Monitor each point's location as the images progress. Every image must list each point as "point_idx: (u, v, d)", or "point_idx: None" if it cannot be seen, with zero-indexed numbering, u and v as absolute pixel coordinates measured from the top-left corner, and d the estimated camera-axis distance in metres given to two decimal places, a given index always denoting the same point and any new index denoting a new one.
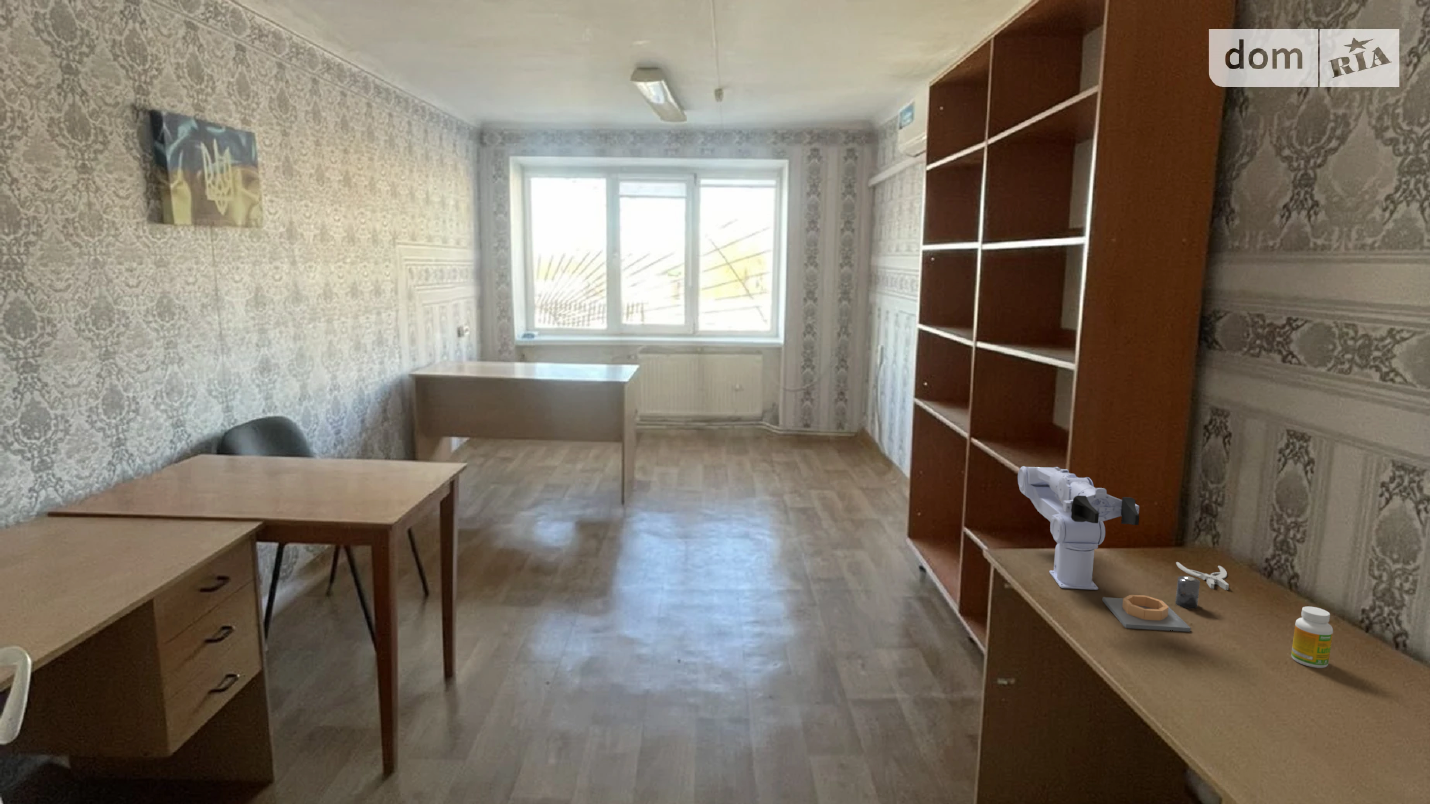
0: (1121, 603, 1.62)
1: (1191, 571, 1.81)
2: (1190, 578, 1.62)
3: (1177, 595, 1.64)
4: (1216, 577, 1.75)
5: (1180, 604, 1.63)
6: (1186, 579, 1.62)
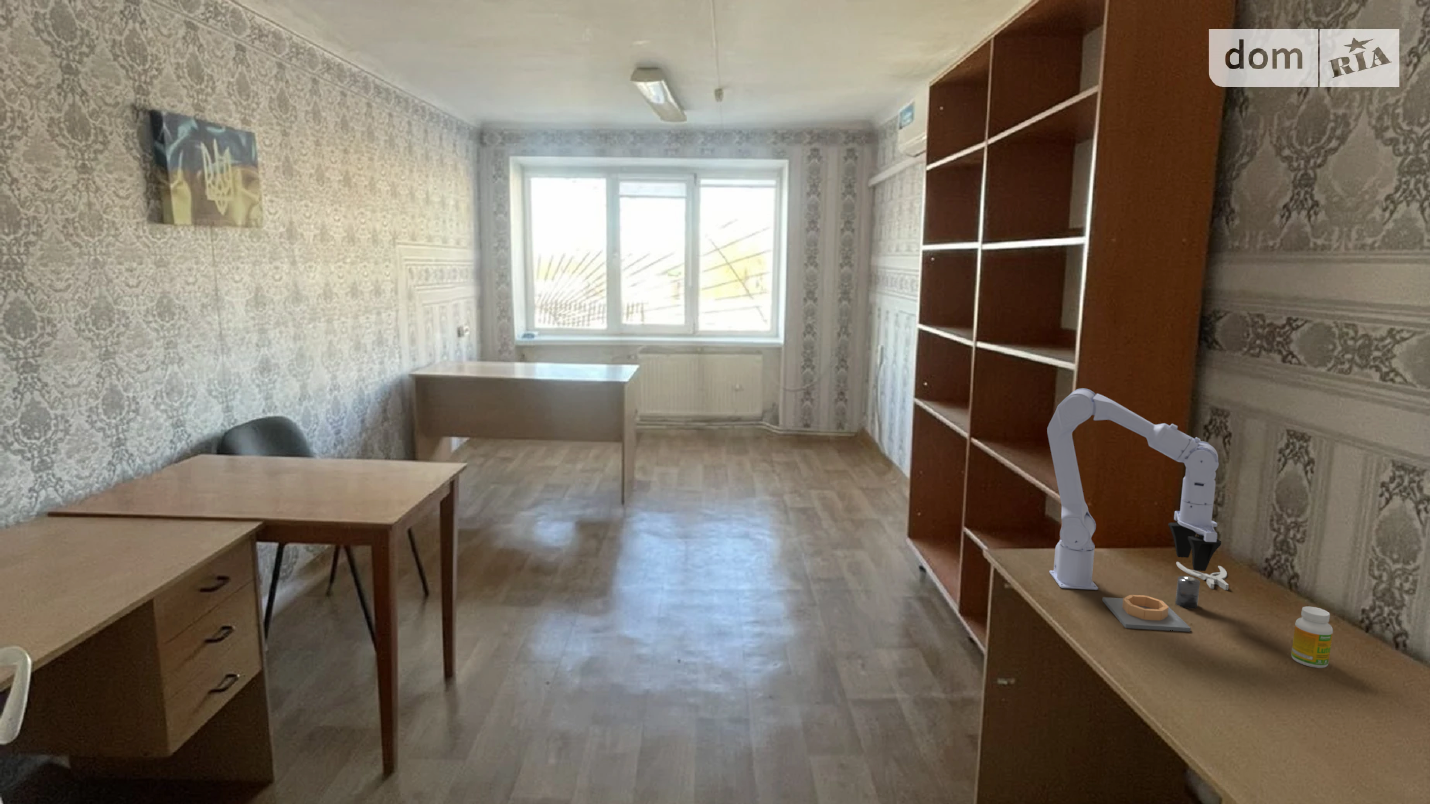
0: (1121, 603, 1.62)
1: (1191, 571, 1.81)
2: (1190, 578, 1.62)
3: (1177, 595, 1.64)
4: (1216, 577, 1.75)
5: (1180, 604, 1.63)
6: (1186, 579, 1.62)
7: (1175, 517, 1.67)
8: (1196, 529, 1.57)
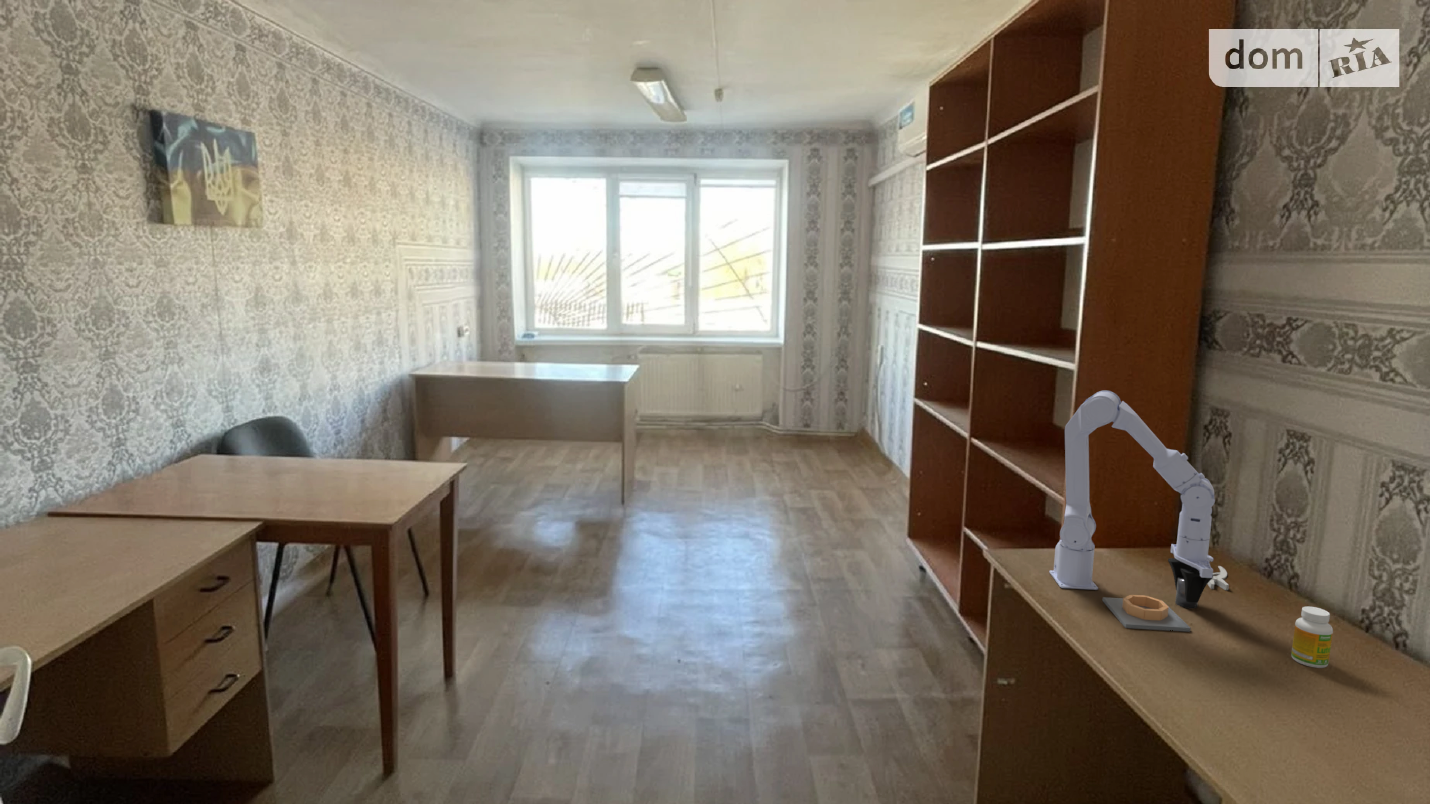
0: (1121, 603, 1.62)
1: None
2: None
3: (1177, 595, 1.64)
4: (1216, 577, 1.75)
5: (1180, 604, 1.63)
6: None
7: (1172, 550, 1.69)
8: (1192, 564, 1.58)
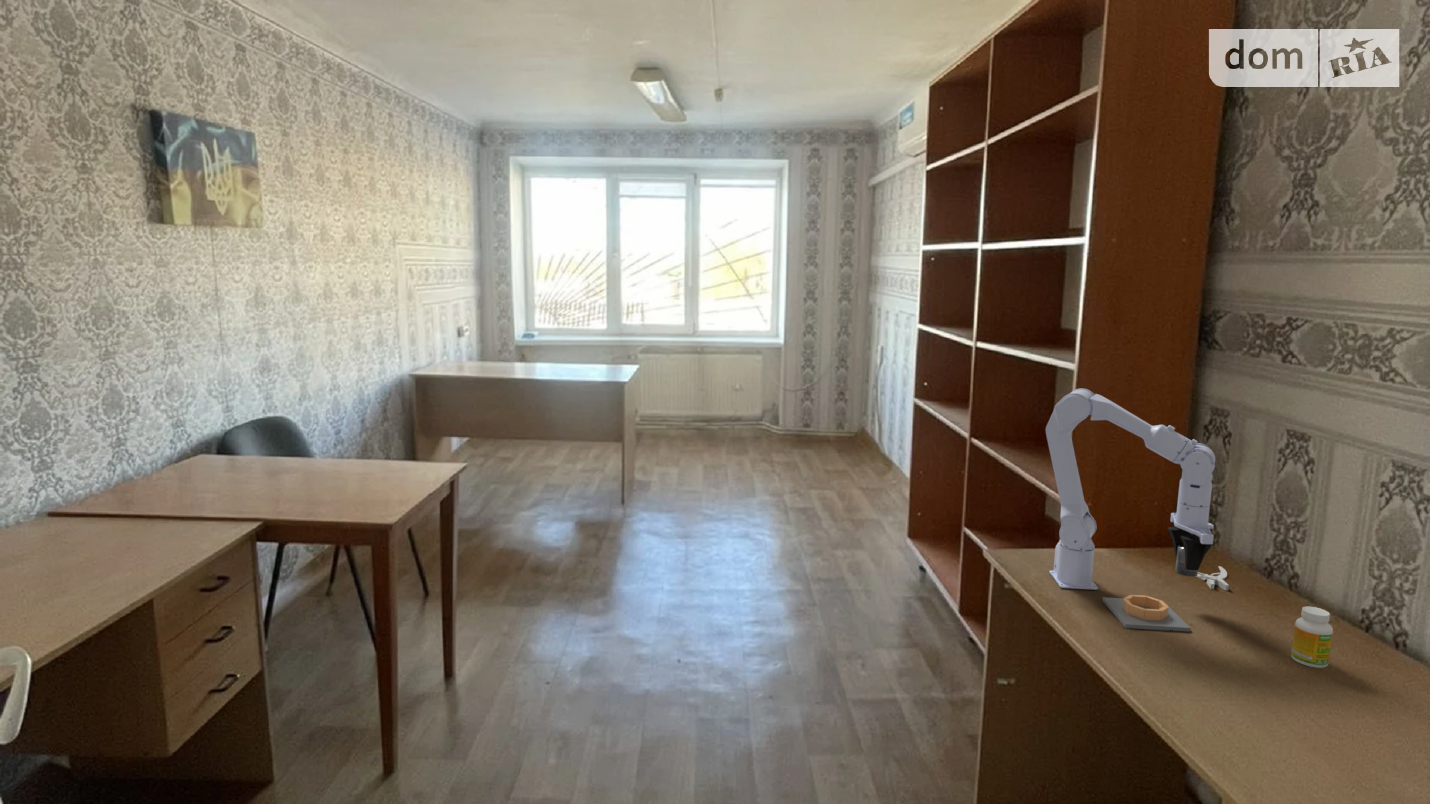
0: (1121, 603, 1.62)
1: None
2: None
3: (1177, 563, 1.62)
4: (1216, 577, 1.75)
5: (1180, 572, 1.61)
6: None
7: (1171, 519, 1.67)
8: (1192, 531, 1.56)
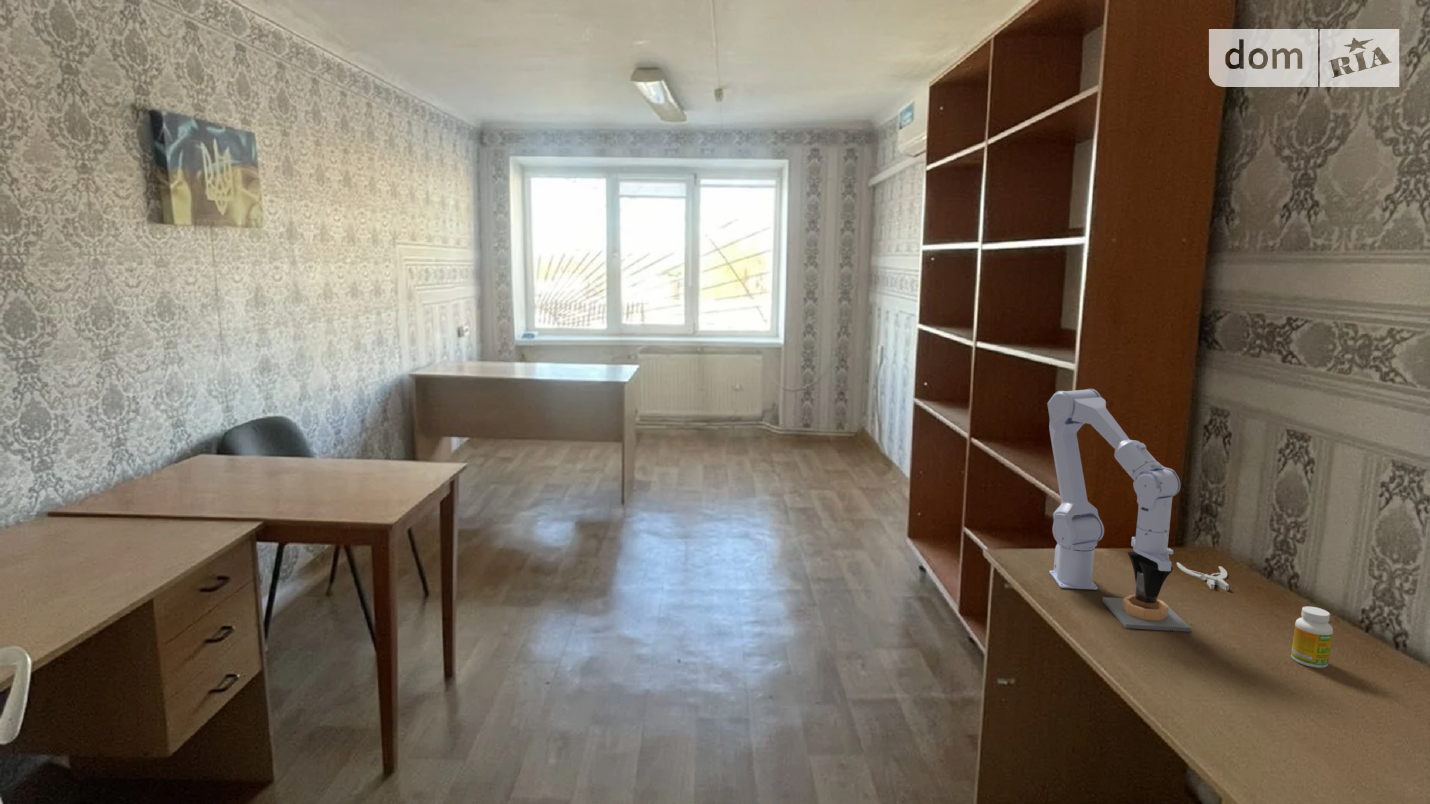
0: (1121, 603, 1.62)
1: (1191, 571, 1.81)
2: None
3: (1137, 589, 1.58)
4: (1216, 578, 1.75)
5: (1139, 599, 1.57)
6: None
7: (1132, 543, 1.63)
8: (1151, 557, 1.52)
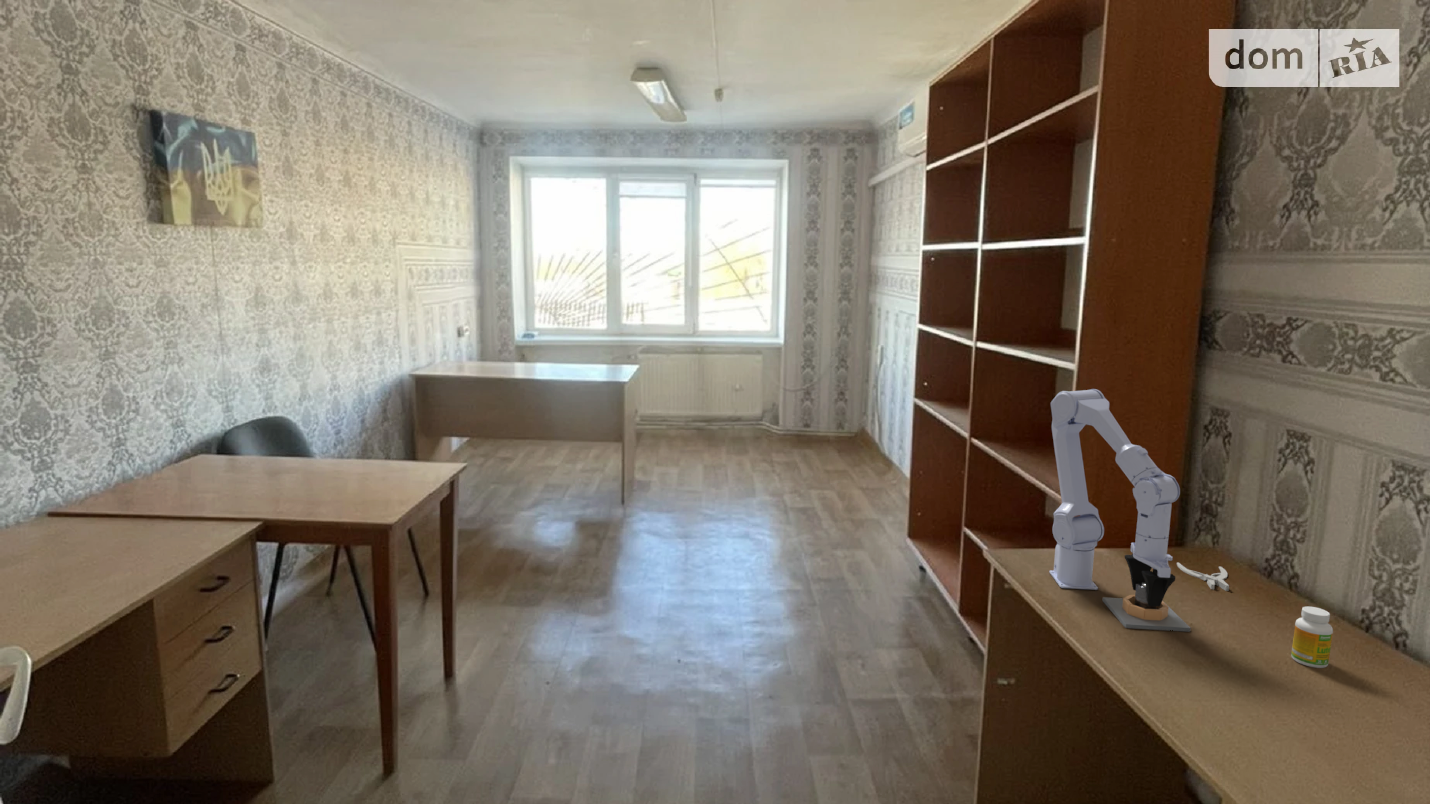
0: (1121, 603, 1.62)
1: (1191, 571, 1.81)
2: None
3: (1135, 602, 1.58)
4: (1216, 578, 1.75)
5: None
6: (1144, 586, 1.57)
7: (1131, 549, 1.63)
8: (1150, 564, 1.52)
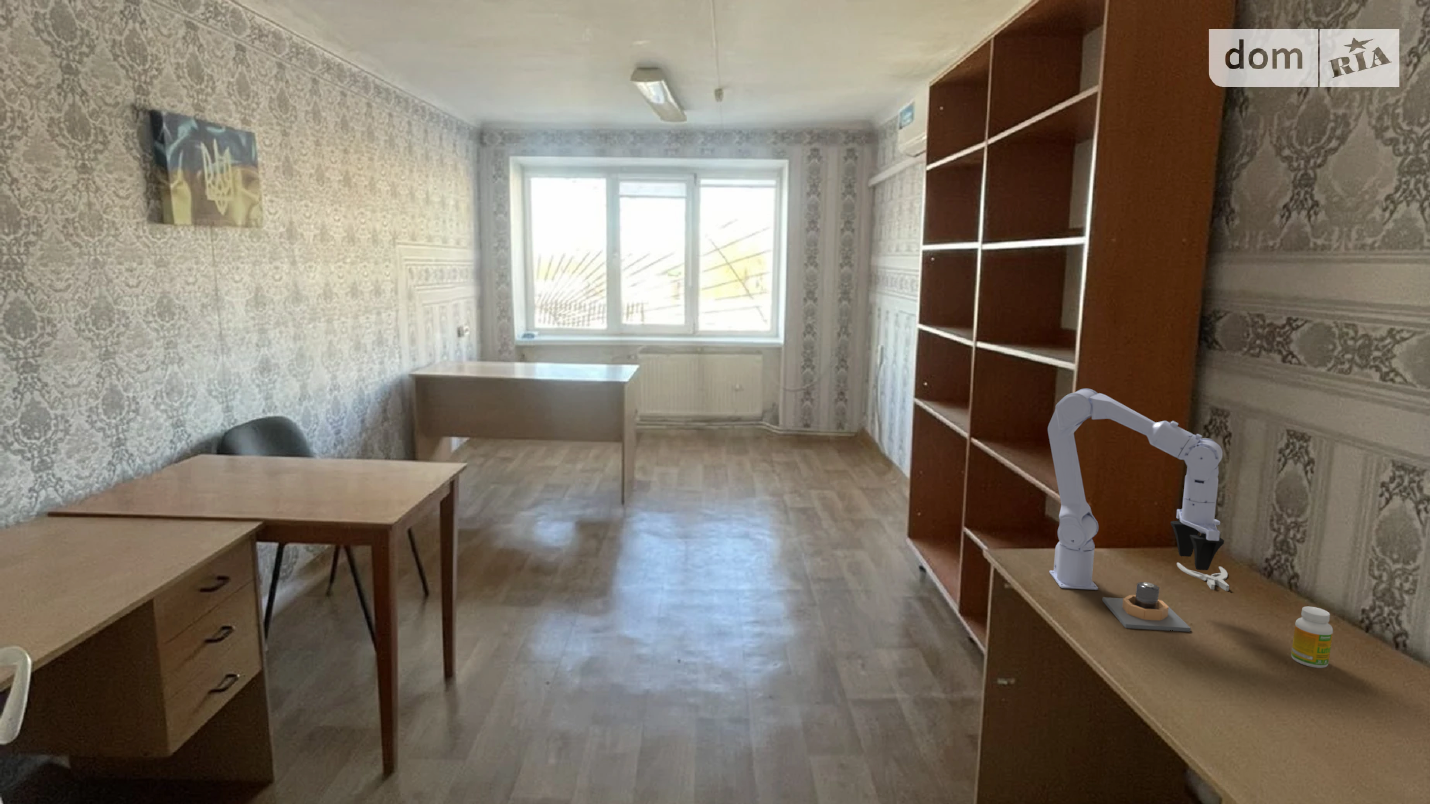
0: (1121, 603, 1.62)
1: (1191, 571, 1.81)
2: (1149, 585, 1.57)
3: (1136, 602, 1.58)
4: (1216, 578, 1.75)
5: None
6: (1145, 585, 1.57)
7: (1177, 515, 1.64)
8: (1198, 527, 1.54)
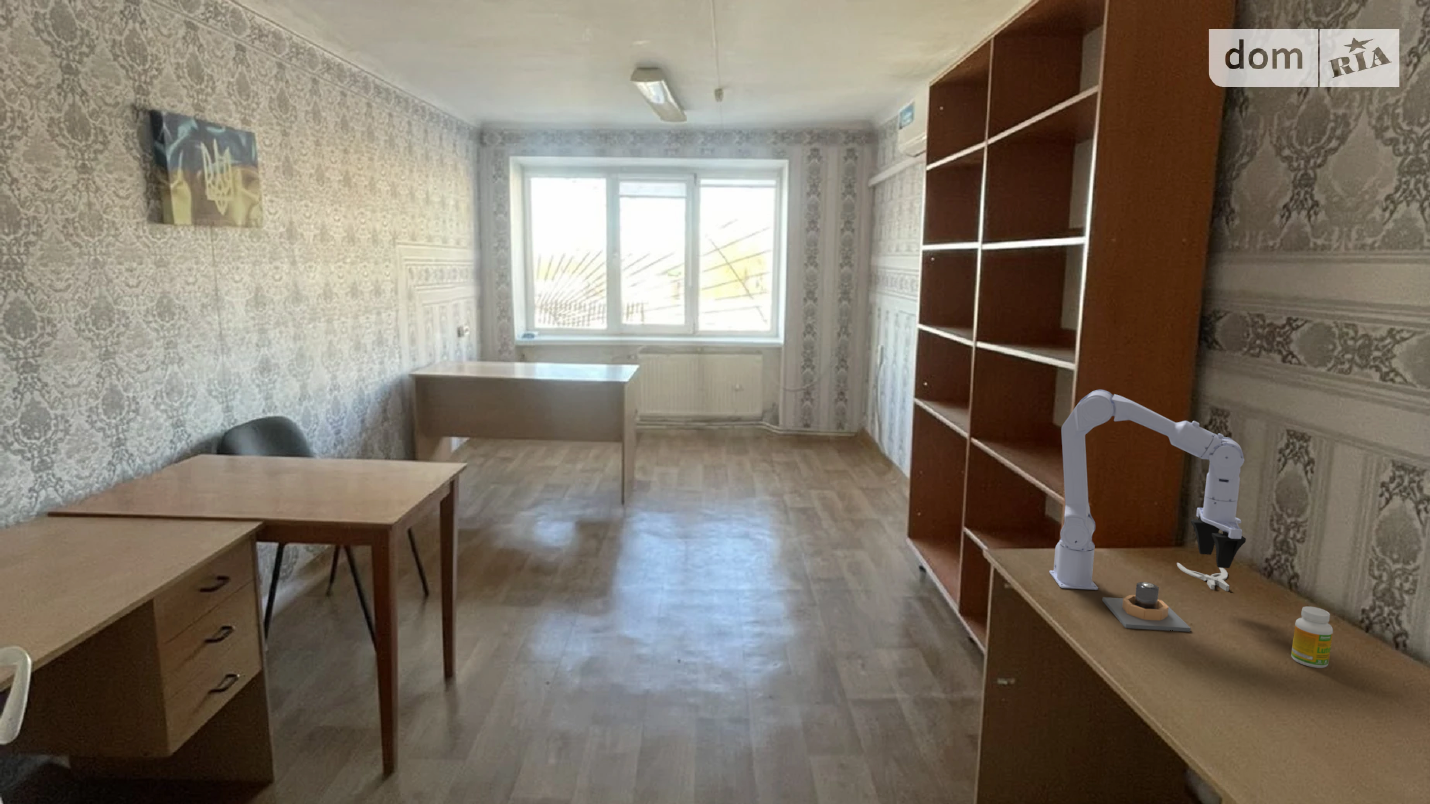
0: (1121, 603, 1.62)
1: (1191, 572, 1.81)
2: (1149, 585, 1.57)
3: (1135, 602, 1.58)
4: (1217, 578, 1.75)
5: None
6: (1144, 586, 1.57)
7: (1197, 514, 1.66)
8: (1220, 526, 1.55)
